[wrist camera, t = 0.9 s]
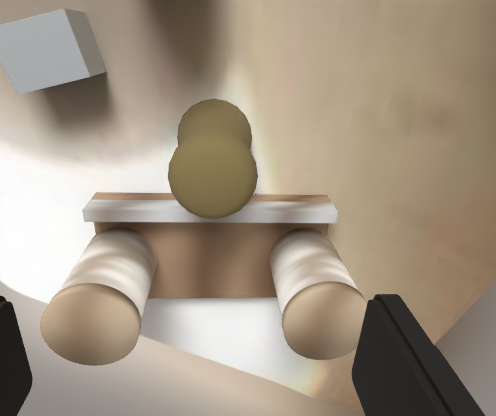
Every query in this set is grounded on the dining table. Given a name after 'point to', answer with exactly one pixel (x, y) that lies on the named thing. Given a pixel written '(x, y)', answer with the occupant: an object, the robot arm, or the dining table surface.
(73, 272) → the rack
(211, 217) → the cork
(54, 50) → the grey rectangular block
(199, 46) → the dining table surface
